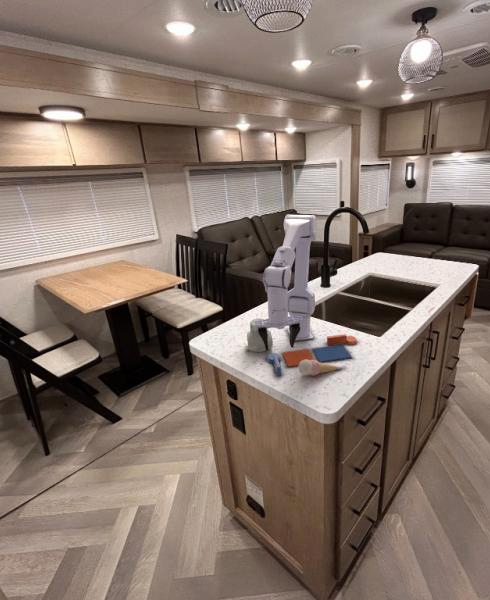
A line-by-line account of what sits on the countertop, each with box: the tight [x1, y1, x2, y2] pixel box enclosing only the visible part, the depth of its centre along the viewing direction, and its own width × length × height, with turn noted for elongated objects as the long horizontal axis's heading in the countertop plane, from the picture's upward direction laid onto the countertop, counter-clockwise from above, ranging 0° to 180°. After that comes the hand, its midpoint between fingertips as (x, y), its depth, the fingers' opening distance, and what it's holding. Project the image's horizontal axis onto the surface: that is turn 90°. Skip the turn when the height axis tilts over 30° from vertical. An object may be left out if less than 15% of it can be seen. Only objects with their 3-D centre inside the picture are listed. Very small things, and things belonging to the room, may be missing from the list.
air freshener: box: [246, 318, 274, 353], centre depth 111 cm, size 11×8×10 cm
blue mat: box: [312, 344, 352, 363], centre depth 108 cm, size 8×11×1 cm
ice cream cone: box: [297, 359, 343, 376], centre depth 98 cm, size 5×5×15 cm
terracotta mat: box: [282, 348, 315, 368], centre depth 106 cm, size 8×9×1 cm
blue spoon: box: [267, 352, 282, 376], centre depth 102 cm, size 11×4×3 cm, turn 12°
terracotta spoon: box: [326, 333, 357, 346], centre depth 114 cm, size 11×4×3 cm, turn 102°
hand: (279, 347), depth 97 cm, fingers open, 7 cm apart
